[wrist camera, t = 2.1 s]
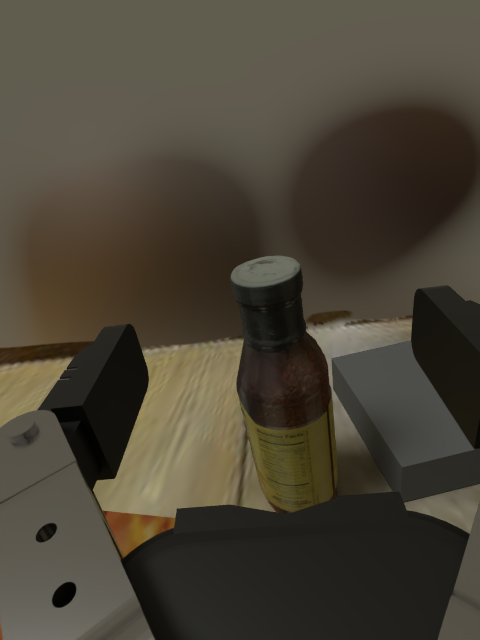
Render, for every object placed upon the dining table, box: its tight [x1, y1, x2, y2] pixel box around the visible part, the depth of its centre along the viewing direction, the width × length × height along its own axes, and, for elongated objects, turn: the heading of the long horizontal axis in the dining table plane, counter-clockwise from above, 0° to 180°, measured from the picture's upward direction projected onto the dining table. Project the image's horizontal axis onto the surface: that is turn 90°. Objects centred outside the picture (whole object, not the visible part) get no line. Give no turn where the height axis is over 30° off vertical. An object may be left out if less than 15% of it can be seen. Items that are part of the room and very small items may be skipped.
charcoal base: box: [332, 341, 480, 502], centre depth 35 cm, size 14×14×4 cm
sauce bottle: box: [230, 256, 338, 514], centre depth 27 cm, size 7×6×20 cm
